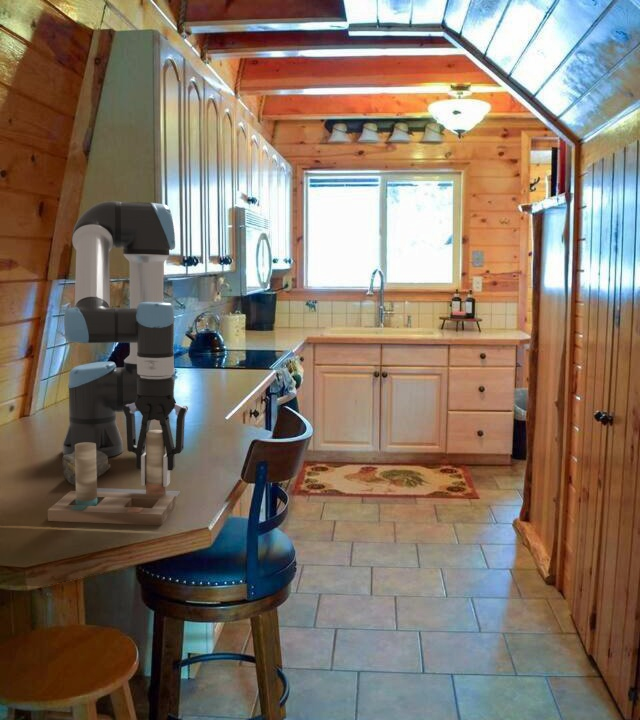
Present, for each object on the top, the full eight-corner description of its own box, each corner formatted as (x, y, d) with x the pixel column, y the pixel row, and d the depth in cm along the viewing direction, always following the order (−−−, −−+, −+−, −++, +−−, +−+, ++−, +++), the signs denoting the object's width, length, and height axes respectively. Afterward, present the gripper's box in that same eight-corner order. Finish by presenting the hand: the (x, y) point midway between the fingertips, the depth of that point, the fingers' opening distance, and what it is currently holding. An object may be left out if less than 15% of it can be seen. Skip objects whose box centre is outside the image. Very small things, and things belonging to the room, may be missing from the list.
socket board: (70, 502, 154) (70, 489, 154) (175, 506, 154) (175, 493, 153) (47, 522, 143) (47, 508, 142) (161, 526, 142) (161, 513, 142)
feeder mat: (90, 489, 163) (90, 487, 163) (180, 492, 163) (180, 491, 163) (77, 501, 155) (77, 499, 155) (172, 504, 155) (172, 502, 155)
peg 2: (148, 492, 161) (148, 429, 159) (167, 493, 161) (167, 430, 159) (143, 498, 157) (143, 433, 155) (162, 499, 157) (162, 434, 155)
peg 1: (100, 509, 150) (99, 442, 148) (93, 516, 146) (92, 447, 144) (80, 509, 150) (78, 441, 148) (73, 516, 146) (71, 447, 144)
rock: (106, 469, 163) (60, 458, 162) (98, 497, 164) (52, 486, 163) (116, 447, 180) (75, 436, 178) (109, 473, 181) (68, 463, 179)
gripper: (109, 377, 152) (110, 488, 155) (192, 380, 151) (191, 491, 154) (120, 372, 159) (121, 477, 162) (199, 374, 159) (198, 480, 162)
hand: (155, 484), depth 158 cm, fingers closed on peg 2, 4 cm apart
